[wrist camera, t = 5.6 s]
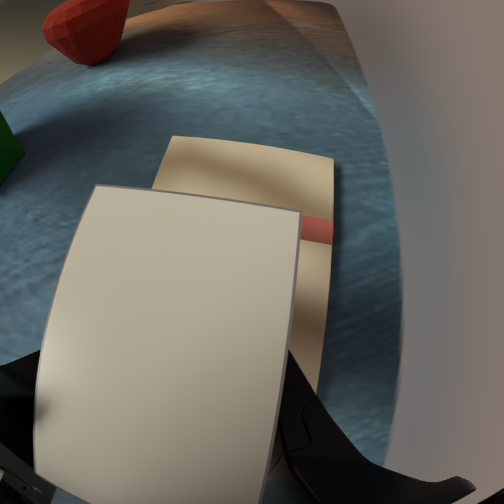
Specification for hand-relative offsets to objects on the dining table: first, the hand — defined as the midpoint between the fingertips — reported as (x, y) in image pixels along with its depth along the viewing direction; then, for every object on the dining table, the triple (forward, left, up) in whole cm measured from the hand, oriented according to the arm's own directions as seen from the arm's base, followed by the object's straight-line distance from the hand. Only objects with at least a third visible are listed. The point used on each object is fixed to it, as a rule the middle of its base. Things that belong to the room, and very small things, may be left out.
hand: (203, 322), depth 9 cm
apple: (+35, -8, -7) cm, 37 cm away
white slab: (-1, +2, -5) cm, 6 cm away
